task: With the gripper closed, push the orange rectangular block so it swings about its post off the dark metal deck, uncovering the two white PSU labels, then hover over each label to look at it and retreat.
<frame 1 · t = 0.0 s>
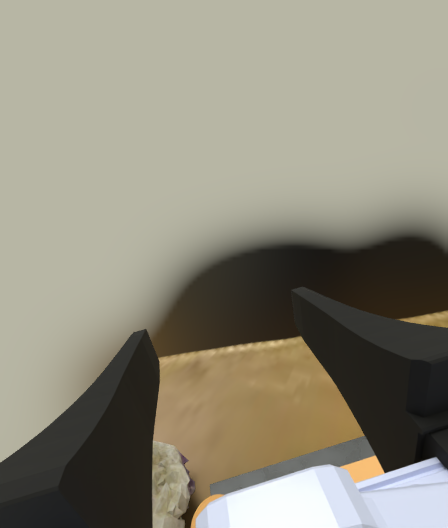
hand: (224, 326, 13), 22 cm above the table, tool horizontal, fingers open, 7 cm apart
orange rectangular block: (304, 511, 19), point 4 cm above the table, hinge at 0.0°
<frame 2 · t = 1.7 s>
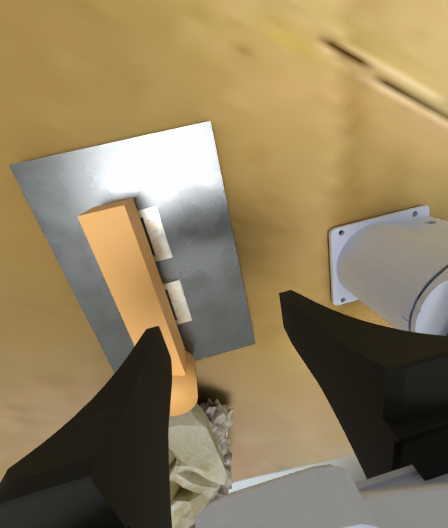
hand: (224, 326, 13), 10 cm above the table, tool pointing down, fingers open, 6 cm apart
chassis: (158, 265, 22), on the table
geode: (178, 425, 30), on the table
orange rectangular block: (149, 317, 19), point 4 cm above the table, hinge at 0.0°
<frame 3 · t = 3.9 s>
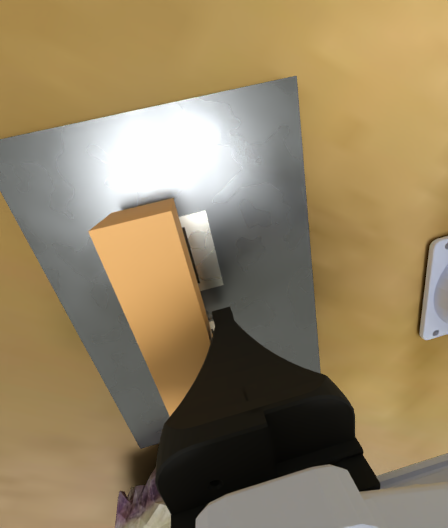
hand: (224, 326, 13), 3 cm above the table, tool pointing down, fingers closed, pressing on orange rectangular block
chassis: (198, 293, 16), on the table
geode: (212, 486, 23), on the table
orange rectangular block: (194, 379, 12), point 4 cm above the table, hinge at 0.2°, touching gripper
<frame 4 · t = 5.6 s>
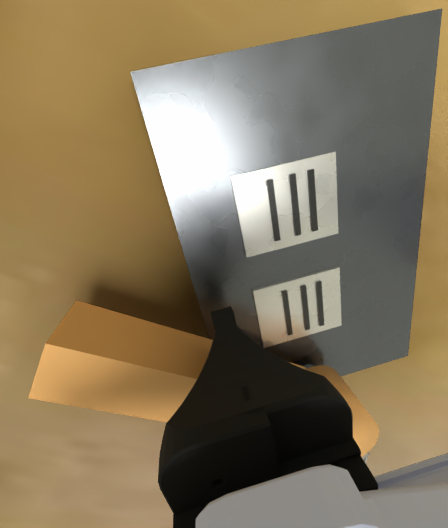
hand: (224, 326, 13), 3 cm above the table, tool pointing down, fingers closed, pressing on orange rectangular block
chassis: (299, 248, 15), on the table
orange rectangular block: (230, 389, 13), point 4 cm above the table, hinge at 52.0°, touching gripper
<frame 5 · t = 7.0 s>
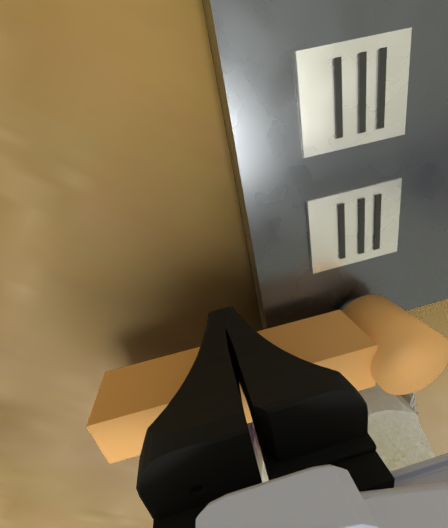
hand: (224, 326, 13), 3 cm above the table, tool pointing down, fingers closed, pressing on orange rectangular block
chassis: (352, 163, 14), on the table
geode: (315, 415, 22), on the table
orange rectangular block: (269, 373, 13), point 4 cm above the table, hinge at 89.1°, touching gripper
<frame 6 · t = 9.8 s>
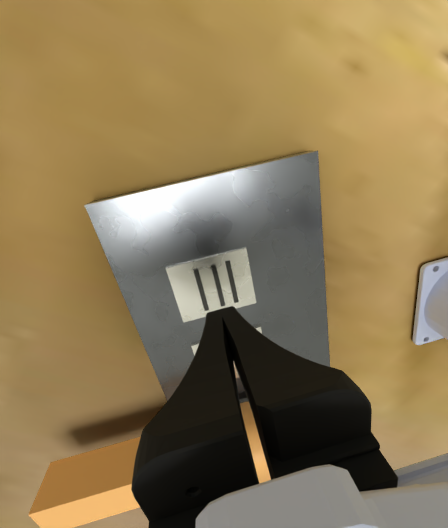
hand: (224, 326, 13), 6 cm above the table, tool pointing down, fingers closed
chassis: (232, 307, 19), on the table
orange rectangular block: (165, 466, 18), point 4 cm above the table, hinge at 89.2°
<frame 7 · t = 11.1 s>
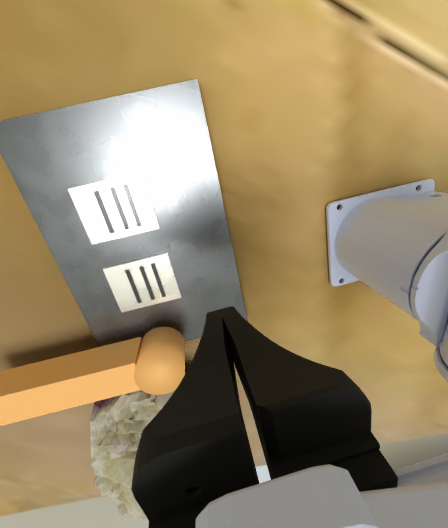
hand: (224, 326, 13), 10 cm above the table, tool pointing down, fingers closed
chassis: (146, 239, 21), on the table
geode: (178, 408, 29), on the table
orange rectangular block: (80, 379, 20), point 4 cm above the table, hinge at 89.2°
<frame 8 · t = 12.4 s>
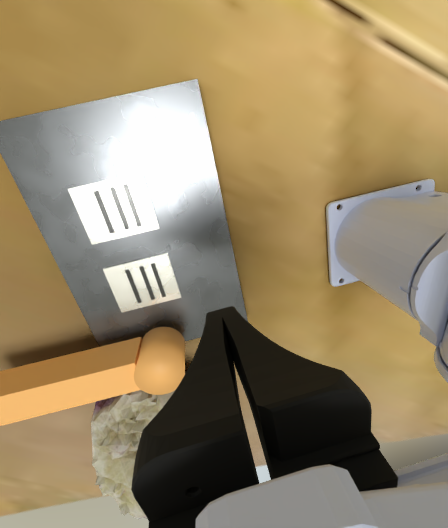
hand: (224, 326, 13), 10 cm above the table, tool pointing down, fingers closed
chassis: (146, 239, 21), on the table
geode: (179, 408, 29), on the table
orange rectangular block: (80, 379, 20), point 4 cm above the table, hinge at 89.2°
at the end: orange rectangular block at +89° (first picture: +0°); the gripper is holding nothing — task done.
